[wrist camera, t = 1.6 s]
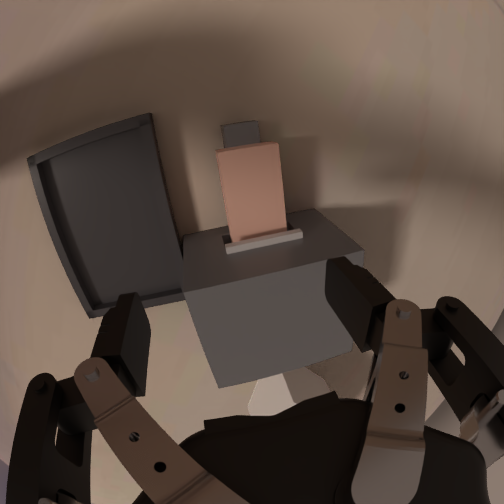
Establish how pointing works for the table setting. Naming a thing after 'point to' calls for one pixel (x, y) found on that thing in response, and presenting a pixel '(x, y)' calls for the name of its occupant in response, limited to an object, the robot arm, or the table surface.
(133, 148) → the tray
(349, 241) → the dispenser
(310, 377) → the white angular block
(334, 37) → the table surface
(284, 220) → the pink block
